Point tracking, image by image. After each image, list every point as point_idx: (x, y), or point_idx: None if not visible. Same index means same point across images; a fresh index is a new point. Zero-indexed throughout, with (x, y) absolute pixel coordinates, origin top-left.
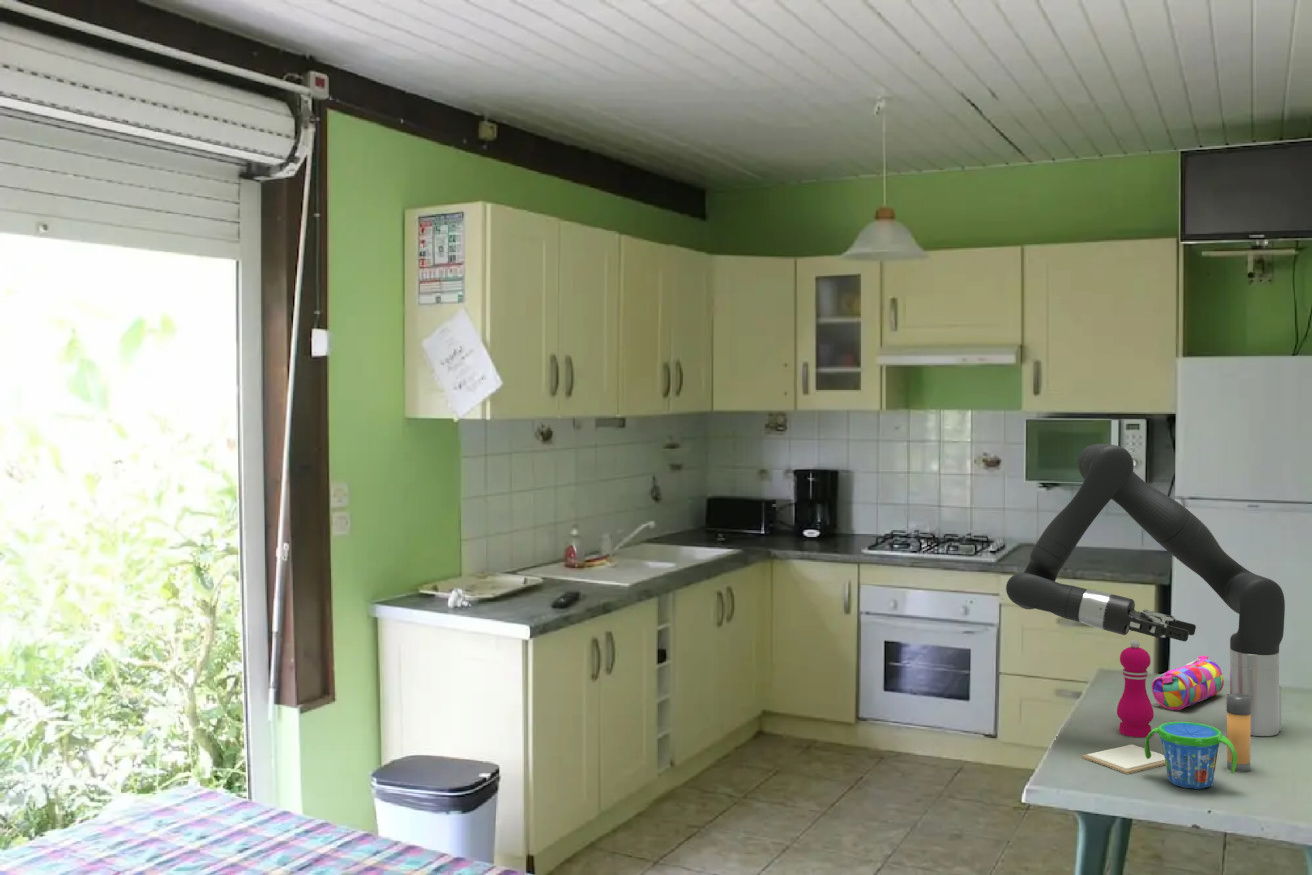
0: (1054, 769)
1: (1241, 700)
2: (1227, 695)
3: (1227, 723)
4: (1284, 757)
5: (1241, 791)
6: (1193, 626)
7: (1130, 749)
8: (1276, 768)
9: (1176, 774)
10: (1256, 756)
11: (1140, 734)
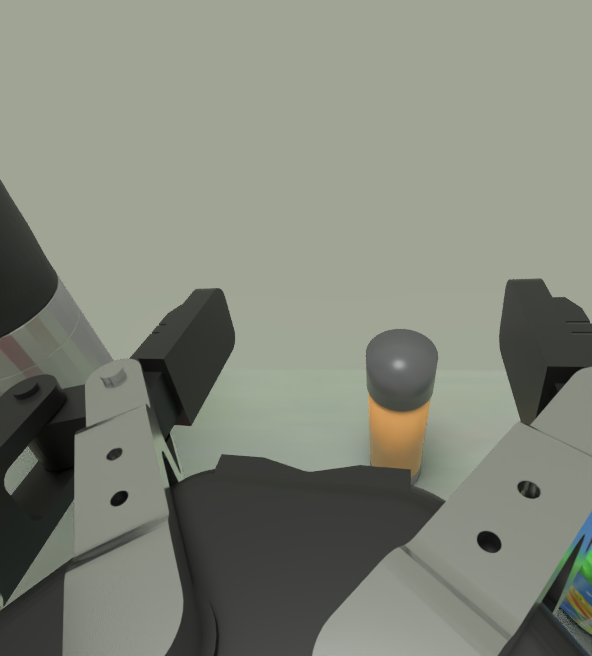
0: None
1: (435, 348)
2: (405, 378)
3: (410, 429)
4: (278, 391)
5: None
6: (217, 299)
7: None
8: (357, 403)
9: None
10: (289, 434)
11: None
